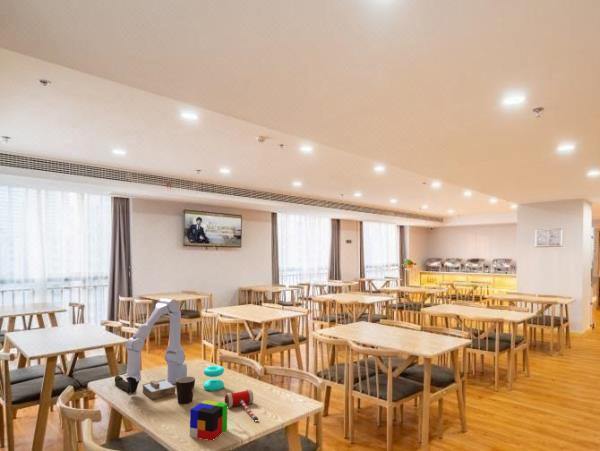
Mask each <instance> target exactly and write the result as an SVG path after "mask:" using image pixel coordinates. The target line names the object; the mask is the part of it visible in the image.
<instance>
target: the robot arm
mask: <svg viewBox="0 0 600 451" xmlns="http://www.w3.org/2000/svg"><path fill="white" fill-rule="evenodd" d="M166 314H167V315H169V343H168V344H169V345H168V347H166V350H165V353H164V360H165V362H166V365H167V376H166V377H167V378H166V379H165V380H166V381H167V382H169V383H170V384H172V385H174V384H175V385H176V379H178V378H180V377H186V376H188V367H187V364H186V362H185V360H186V354H185V349H184V348H183V347H182V345H181V330H182V329H181V325H182V311H181V307H180V302H179V301H178V300H177V299H171V298H163V297H162V298H159V300H158V301H157V303H156V304H155V308H154V310H153V311H152V312H151V314H150V315H149V317H148V319H147V320H146V321H145V323H142V324H140V325H139V326H138V329H137V330H136V331H135V333H134V334H133V335H132V337H130V338H128V339H127V340H126V343H125V344H124V348H125V349H126V351H127V352H126V353H127V364H126V365H127V366H126V368H127V369H126V373H124V377H125V379H126V382H128V384H129V388H130V392H131V393H130V394H135V393H137V390H138V386H139V384H140V382H141V381H142V376H141V350H142V349H143V348H144V345H145V341H146V339H147V338H148V337H149V335H150V334H151V332H152V327H153V326H154V325H155V324H156V322H157V321H158V320H159V318H160V317H161V316H162V315H163V316H164V315H166Z"/></svg>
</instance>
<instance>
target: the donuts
mask: <svg viewBox="0 0 600 451" xmlns="http://www.w3.org/2000/svg"><path fill="white" fill-rule="evenodd" d="M224 373H225V368H224V367H223V366H221V365H209V366H207V367H205V368H204V370H203V375H205V376H206V377H209V378H213V379H208V380H207V381H205V382H204V384H203V389H205V390H206V391H208V392H209V391H210V392H216V391H220V390H222V389H223V388H224V386H225V383H224V381H223V380H221V379H218V378H217V377H220V376H221V375H223V374H224Z"/></svg>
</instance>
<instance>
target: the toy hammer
mask: <svg viewBox="0 0 600 451" xmlns="http://www.w3.org/2000/svg"><path fill="white" fill-rule="evenodd" d="M224 403H227V407H228V408H227V409H232V407H235V406H242V407H243V408H244V409H245V411H247V413H248V414H249V416H250V417H251V418H252V421H253V420H254V421H255V420H258V421H259V418H258V417H257V416H256V415H255V414H254V413H253V411H251V409H250V407H248V405H252V404H253V403H254V393H253V390H252V389H251V388H247V389H245V390H243V391H237V392H232V393H231V392H225V394H224ZM248 403H249V404H248ZM251 403H252V404H251ZM247 404H248V405H247ZM254 421H253V422H254Z"/></svg>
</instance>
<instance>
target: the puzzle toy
mask: <svg viewBox="0 0 600 451" xmlns="http://www.w3.org/2000/svg"><path fill="white" fill-rule="evenodd" d="M189 414H190V415H189V418H190V419H189V437H191V438H195V437H196V438H195V439H200V438H202V439H201V440H204V439H208V440H207V441H209V440H213V439H215V438H216V437H217V438H219V435H220V434H221V433H222V432H223V433H225V432H226V431H227V430H228V408H227V403H225V402H222V401H221V402H219V401H214V400H208V399H205V400H203V401H201V402H200V403H198V404H196V405H195V406H194V407H192V408H190V411H189ZM226 429H227V430H226ZM225 430H226V431H225ZM224 431H225V432H224ZM223 433H222V434H223ZM222 434H221V435H222ZM221 435H220V436H221ZM217 438H216V439H217ZM216 439H215V440H216ZM213 441H214V440H213Z"/></svg>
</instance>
